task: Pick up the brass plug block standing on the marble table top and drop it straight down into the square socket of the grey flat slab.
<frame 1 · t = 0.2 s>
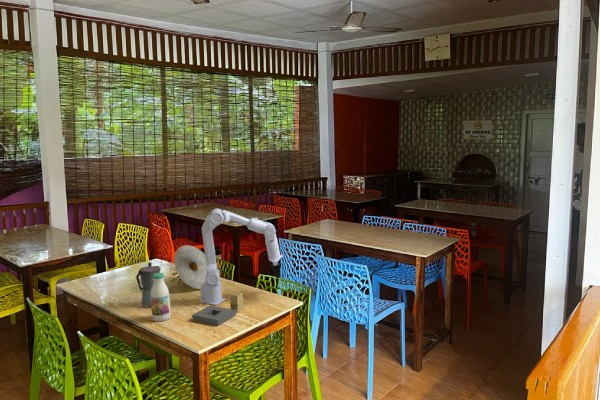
hand: (278, 275, 225), 10 cm above the table, tool pointing down, fingers open, 7 cm apart
plug block: (237, 310, 210), on the table
milk bottle: (161, 318, 204), on the table
grey flat slab: (214, 318, 202), on the table
moka pot: (151, 305, 221), on the table
disc: (191, 285, 248), on the table
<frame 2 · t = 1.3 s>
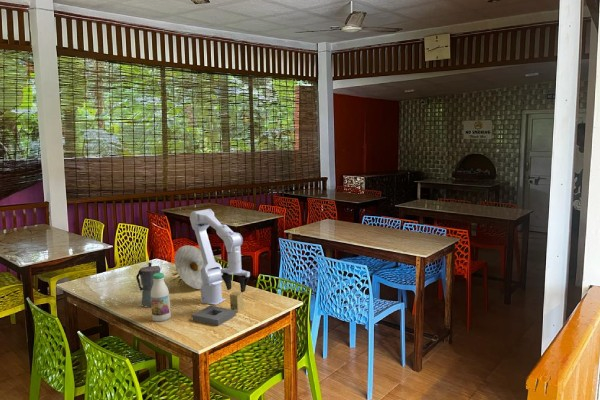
hand: (236, 290, 209), 9 cm above the table, tool pointing down, fingers open, 7 cm apart
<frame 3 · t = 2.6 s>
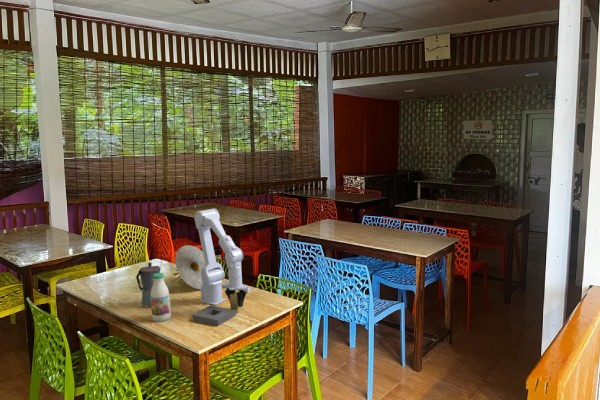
hand: (236, 305, 210), 2 cm above the table, tool pointing down, fingers closed on plug block, 4 cm apart
plug block: (237, 310, 210), on the table, touching gripper
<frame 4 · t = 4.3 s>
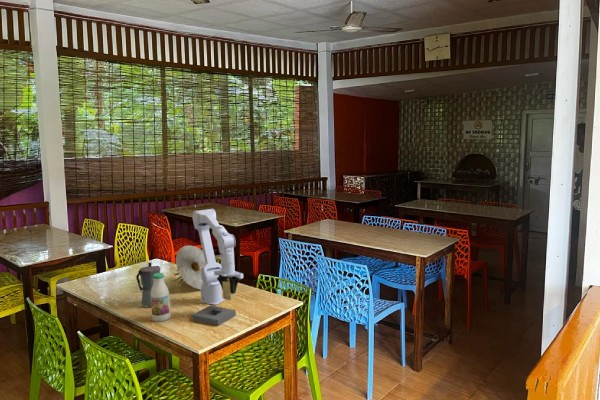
hand: (229, 292, 206), 9 cm above the table, tool pointing down, fingers closed on plug block, 4 cm apart
plug block: (229, 298, 207), point 7 cm above the table, touching gripper
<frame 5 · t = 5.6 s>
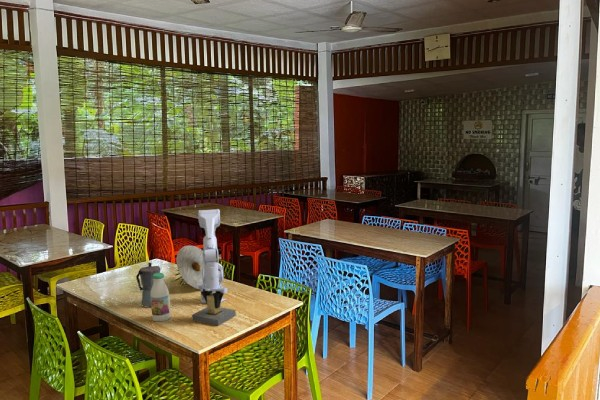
hand: (213, 307, 202), 5 cm above the table, tool pointing down, fingers closed on plug block, 4 cm apart
plug block: (214, 312, 202), point 2 cm above the table, touching gripper
when the fingers open (3 cm above the table, at t = 6.3 s): plug block stays where it is, resting in grey flat slab.
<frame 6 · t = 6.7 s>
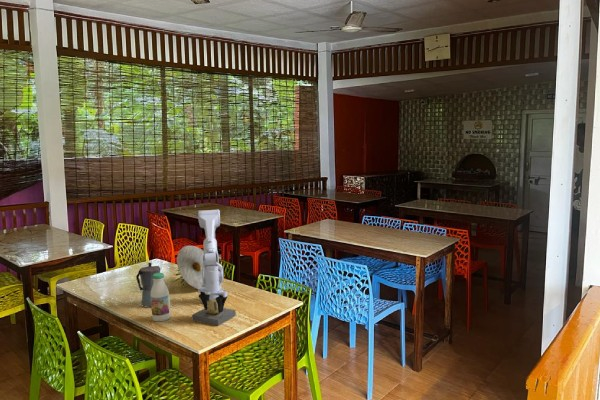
hand: (213, 310, 202), 3 cm above the table, tool pointing down, fingers open, 7 cm apart
plug block: (214, 317, 203), resting in grey flat slab
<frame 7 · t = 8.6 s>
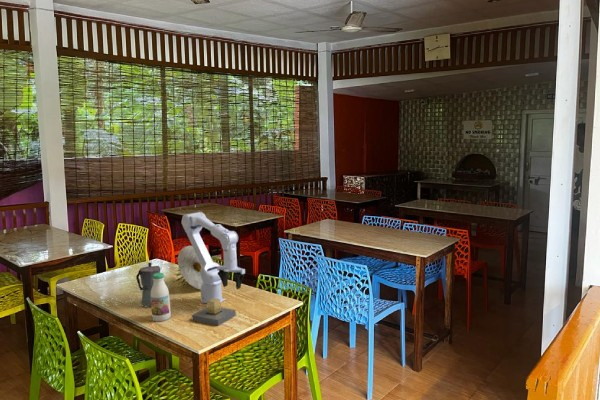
hand: (231, 287, 213), 9 cm above the table, tool pointing down, fingers open, 7 cm apart
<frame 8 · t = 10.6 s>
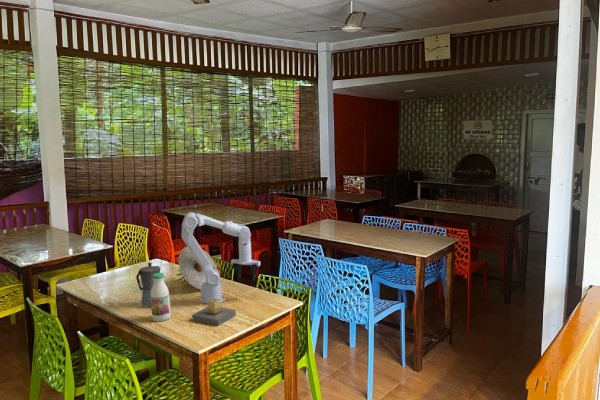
hand: (246, 279, 224), 9 cm above the table, tool pointing down, fingers open, 7 cm apart
at the end: plug block 0.2 cm off-centre on the grey flat slab, point 0.0 cm above the grey flat slab's base; plug block tilted 0°; the gripper is holding nothing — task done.
